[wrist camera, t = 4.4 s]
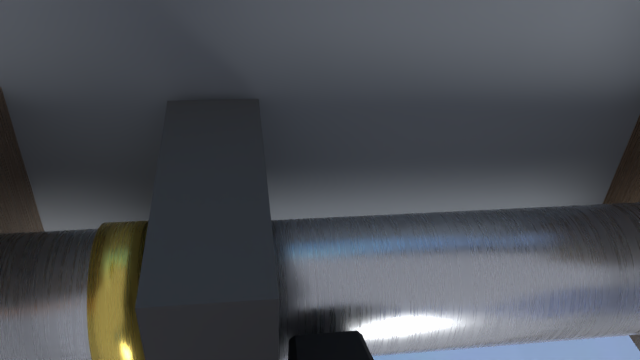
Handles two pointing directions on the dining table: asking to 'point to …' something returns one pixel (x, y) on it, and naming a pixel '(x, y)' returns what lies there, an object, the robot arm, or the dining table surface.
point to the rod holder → (343, 274)
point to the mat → (327, 99)
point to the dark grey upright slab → (210, 239)
